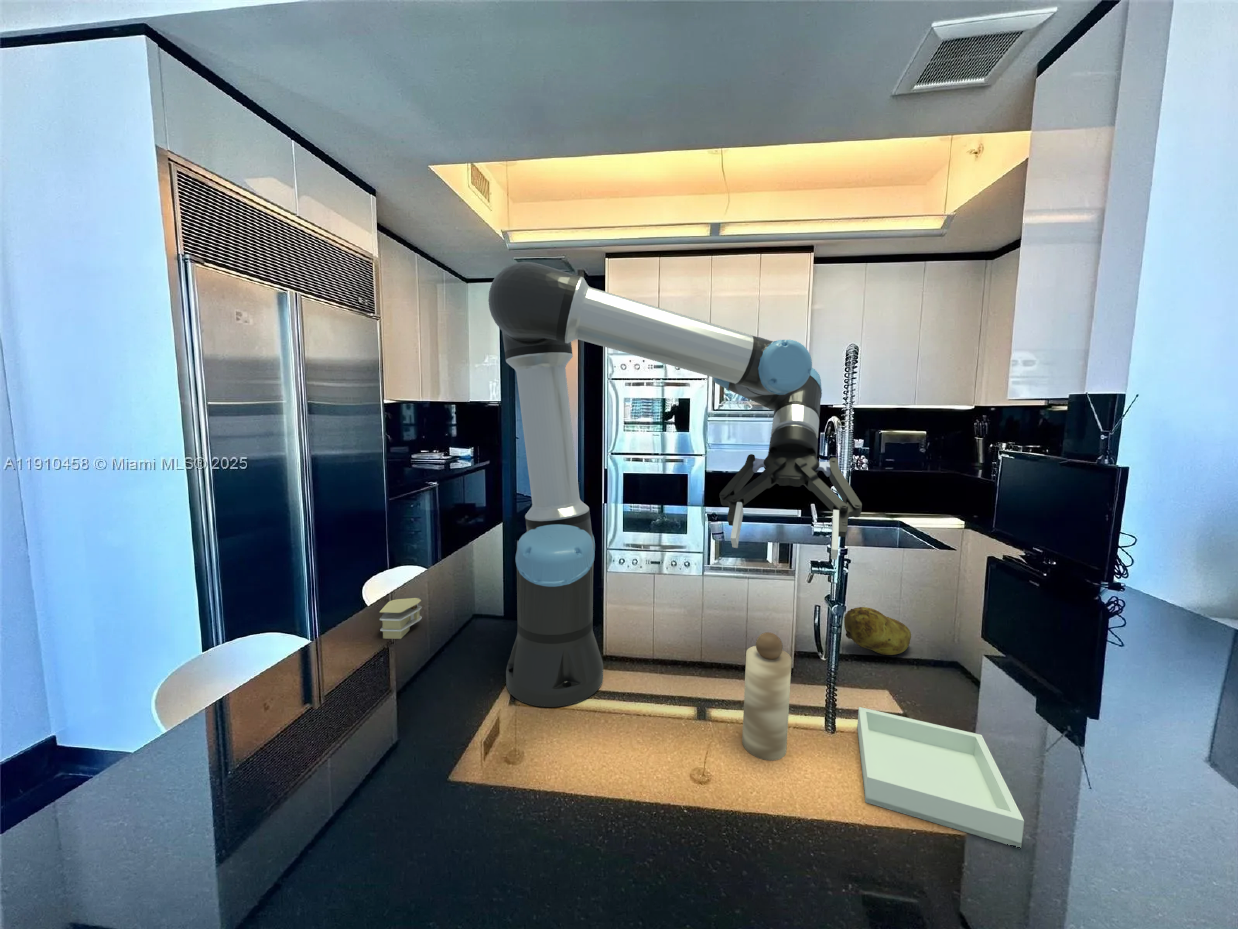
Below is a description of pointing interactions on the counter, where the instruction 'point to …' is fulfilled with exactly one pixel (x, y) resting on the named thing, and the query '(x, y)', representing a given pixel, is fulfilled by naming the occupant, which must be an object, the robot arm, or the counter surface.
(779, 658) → the pepper mill
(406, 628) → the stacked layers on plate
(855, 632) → the potato
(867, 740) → the bin
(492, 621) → the counter surface
